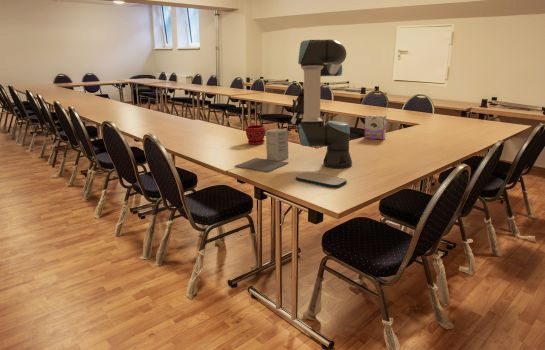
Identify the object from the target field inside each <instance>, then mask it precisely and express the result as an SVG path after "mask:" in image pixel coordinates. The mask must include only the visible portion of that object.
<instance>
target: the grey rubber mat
mask: <svg viewBox="0 0 545 350" xmlns="http://www.w3.org/2000/svg"><path fill="white" fill-rule="evenodd" d="M288 164H289V162H288V161H283V160H281V161H275V160H269V159H267V158H259V157H254V158H252V159H249V160H247V161H244V162H241V163H238V164H236V165H234V168H240V169H246V170H252V171H256V172H262V171H263V173H270V172H272V171H275V170H277V169H280V168H281V167H284V166H286V165H288Z"/></svg>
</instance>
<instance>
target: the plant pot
mask: <svg viewBox="0 0 545 350" xmlns="http://www.w3.org/2000/svg"><path fill="white" fill-rule="evenodd" d="M245 135H246V138H247V143H248V144H249V145H253V146H254V145H255V146H259V145H262V144H264V143H265V142H266V139H265V137H266V128H265V125H261V124H252V125H248V126H246V127H245Z"/></svg>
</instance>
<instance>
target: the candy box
mask: <svg viewBox="0 0 545 350" xmlns="http://www.w3.org/2000/svg"><path fill="white" fill-rule="evenodd" d="M386 130H387V115H381V114H367V115H365V116H364V131H363V132H364V133H363V136H364V137H363V139H365V140H367V139H368V140H379V141H384V140H385V139H386V133H387V132H386Z"/></svg>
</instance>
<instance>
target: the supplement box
mask: <svg viewBox="0 0 545 350" xmlns="http://www.w3.org/2000/svg"><path fill="white" fill-rule="evenodd" d="M288 131H289V130H288V129H284V128H273V129H268V130H265V144H266V147H265V148H266V149H265V150H266V159H268V160H275V161H283V160H288V159H289V132H288Z"/></svg>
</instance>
